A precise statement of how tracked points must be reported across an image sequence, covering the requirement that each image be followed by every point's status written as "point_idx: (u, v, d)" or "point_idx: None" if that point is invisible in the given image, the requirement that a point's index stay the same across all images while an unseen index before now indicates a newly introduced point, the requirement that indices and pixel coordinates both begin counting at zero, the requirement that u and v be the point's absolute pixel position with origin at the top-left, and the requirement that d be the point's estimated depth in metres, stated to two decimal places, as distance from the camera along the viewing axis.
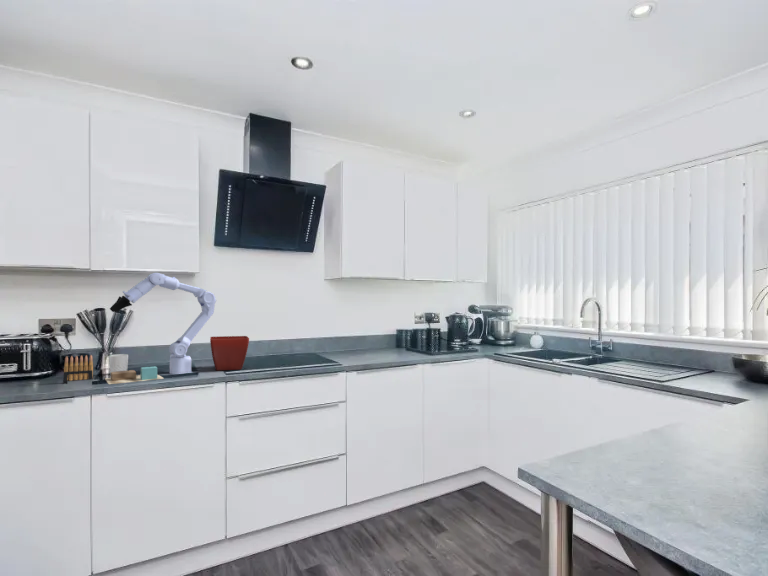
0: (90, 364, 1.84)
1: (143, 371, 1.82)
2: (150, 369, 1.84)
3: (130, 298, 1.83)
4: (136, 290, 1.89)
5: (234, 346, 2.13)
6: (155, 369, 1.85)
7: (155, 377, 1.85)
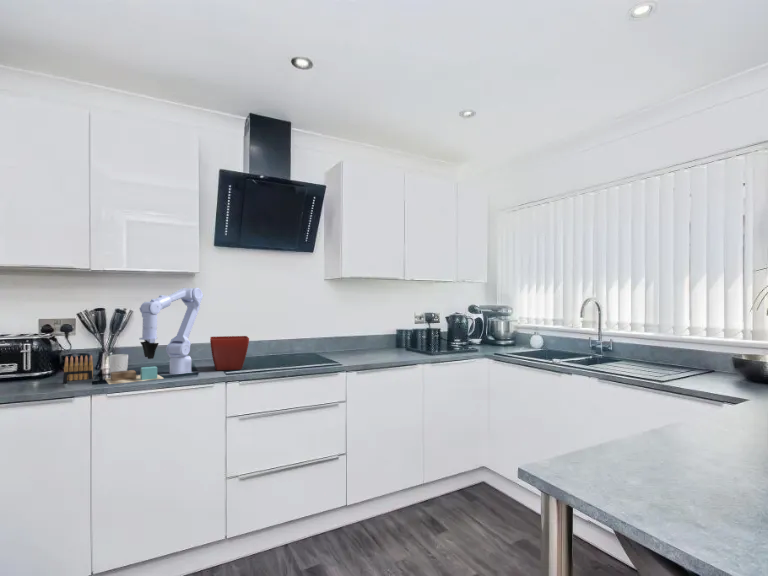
0: (90, 364, 1.84)
1: (143, 371, 1.82)
2: (150, 369, 1.84)
3: (152, 341, 1.80)
4: (148, 330, 1.84)
5: (234, 346, 2.13)
6: (155, 369, 1.85)
7: (155, 377, 1.85)
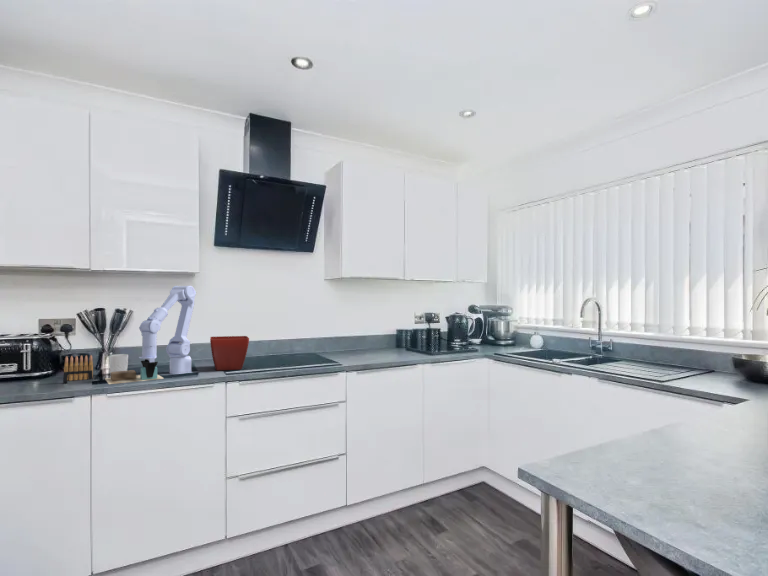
0: (90, 364, 1.84)
1: (143, 371, 1.82)
2: None
3: (152, 360, 1.80)
4: (148, 349, 1.83)
5: (234, 346, 2.13)
6: (155, 369, 1.85)
7: (155, 377, 1.85)
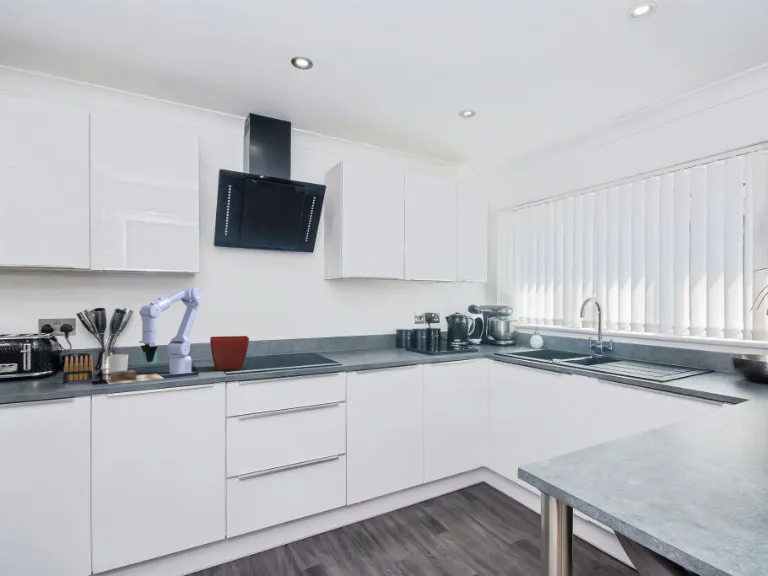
0: (90, 364, 1.84)
1: (143, 355, 1.83)
2: None
3: (152, 344, 1.80)
4: (148, 333, 1.84)
5: (234, 346, 2.13)
6: (155, 354, 1.86)
7: (155, 362, 1.85)
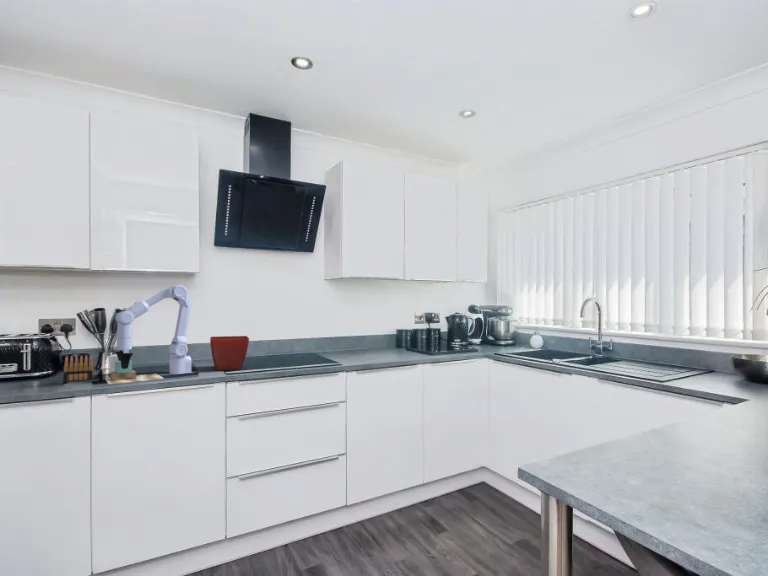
0: (90, 364, 1.84)
1: (117, 364, 1.82)
2: None
3: (126, 351, 1.80)
4: (122, 340, 1.83)
5: (234, 346, 2.13)
6: (130, 362, 1.85)
7: (130, 370, 1.85)
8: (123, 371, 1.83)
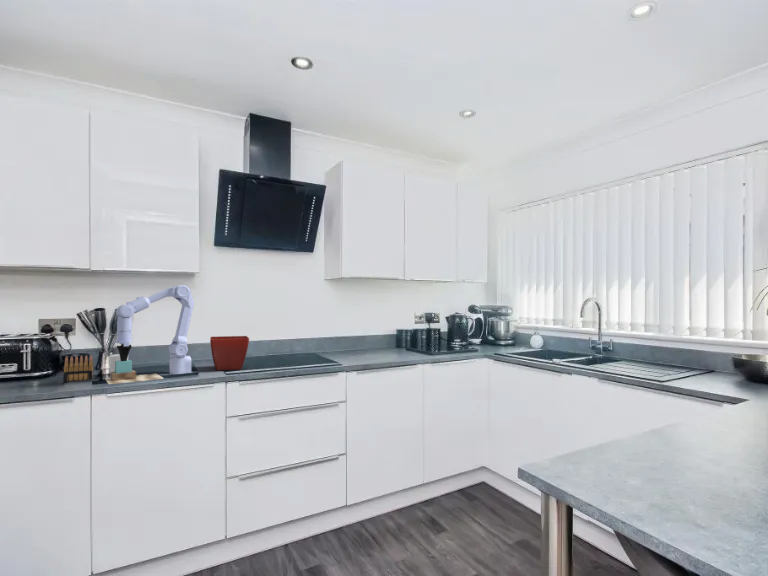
0: (90, 364, 1.84)
1: (117, 364, 1.82)
2: (125, 362, 1.84)
3: (126, 344, 1.80)
4: (122, 333, 1.83)
5: (234, 346, 2.13)
6: (130, 362, 1.85)
7: (130, 370, 1.85)
8: (123, 371, 1.83)
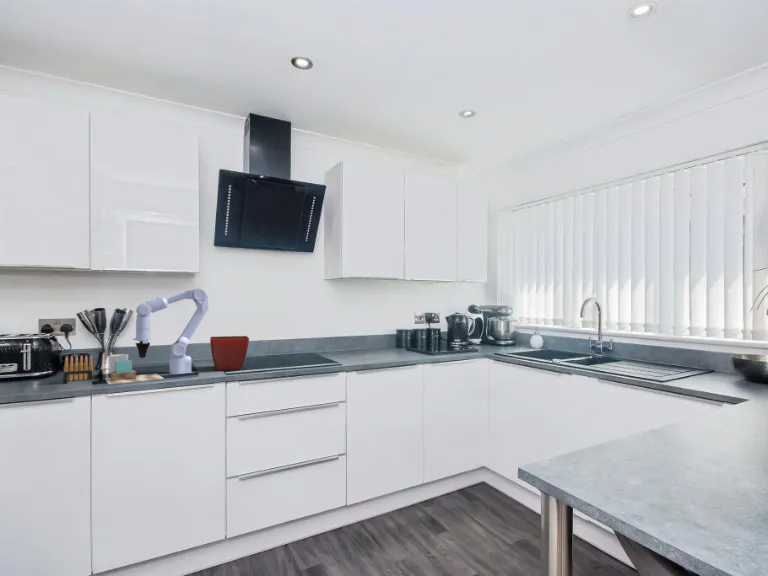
0: (90, 364, 1.84)
1: (117, 364, 1.82)
2: (125, 362, 1.84)
3: (145, 341, 1.88)
4: (141, 331, 1.92)
5: (234, 346, 2.13)
6: (130, 362, 1.85)
7: (130, 370, 1.85)
8: (123, 371, 1.83)
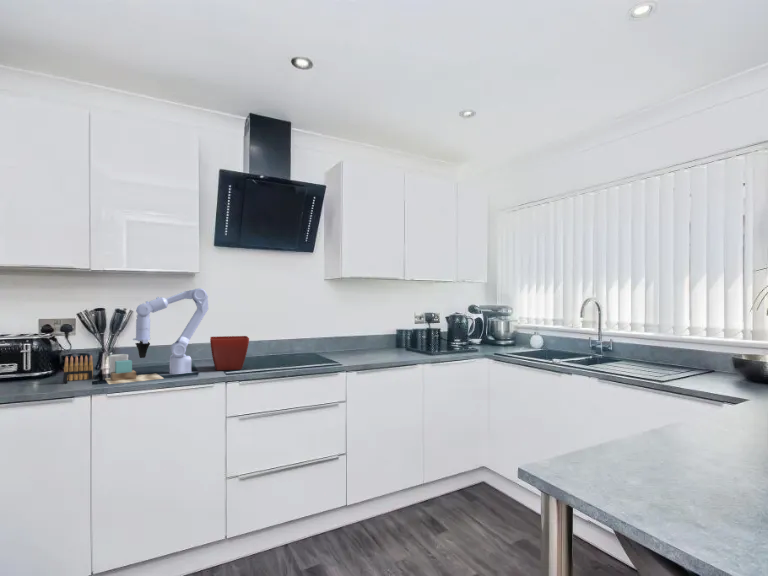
0: (90, 364, 1.84)
1: (117, 364, 1.82)
2: (125, 362, 1.84)
3: (145, 341, 1.88)
4: (141, 331, 1.92)
5: (234, 346, 2.13)
6: (130, 362, 1.85)
7: (130, 370, 1.85)
8: (123, 371, 1.83)
